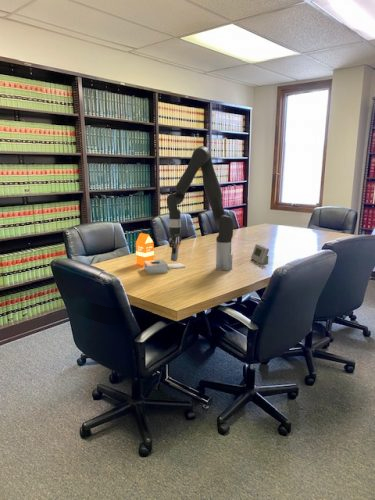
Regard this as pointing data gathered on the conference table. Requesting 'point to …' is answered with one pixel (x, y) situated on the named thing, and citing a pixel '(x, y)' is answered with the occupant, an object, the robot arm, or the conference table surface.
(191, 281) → the conference table surface
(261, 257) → the digital clock
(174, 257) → the key
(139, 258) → the orange juice
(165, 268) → the block
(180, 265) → the pad
